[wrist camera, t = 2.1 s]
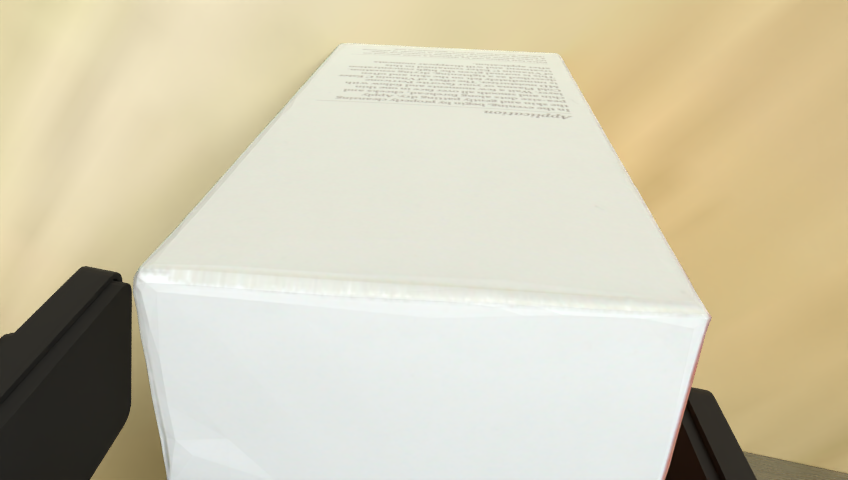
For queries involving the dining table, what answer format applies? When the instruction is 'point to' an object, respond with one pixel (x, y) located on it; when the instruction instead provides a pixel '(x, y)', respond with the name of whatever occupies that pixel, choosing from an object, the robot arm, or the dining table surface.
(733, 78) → the dining table surface
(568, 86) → the small box
